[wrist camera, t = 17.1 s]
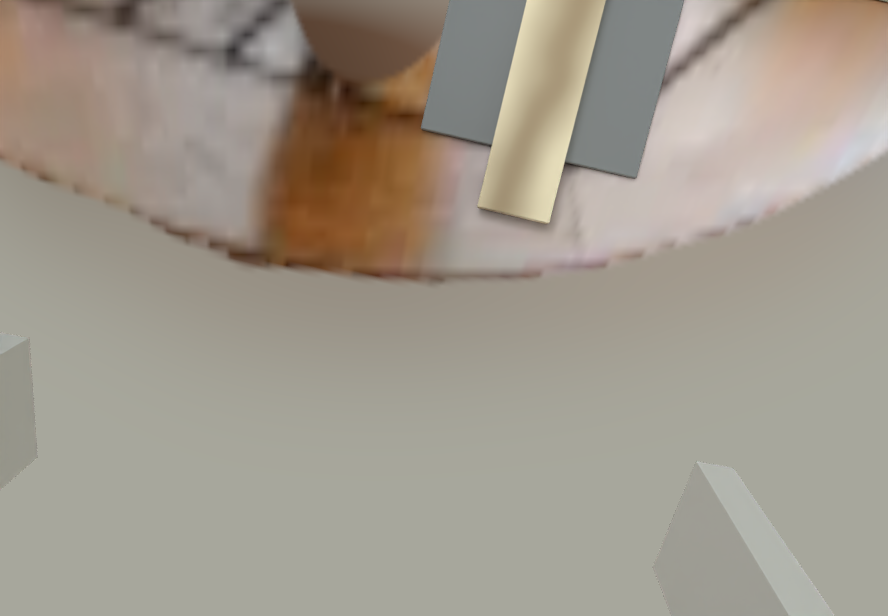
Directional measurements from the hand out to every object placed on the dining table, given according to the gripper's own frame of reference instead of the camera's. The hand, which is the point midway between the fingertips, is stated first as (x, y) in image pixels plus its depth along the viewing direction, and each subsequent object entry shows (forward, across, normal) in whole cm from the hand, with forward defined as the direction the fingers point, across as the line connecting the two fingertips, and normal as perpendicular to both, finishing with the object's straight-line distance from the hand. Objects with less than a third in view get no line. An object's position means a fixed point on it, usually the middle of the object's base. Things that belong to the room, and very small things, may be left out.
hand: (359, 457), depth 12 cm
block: (+31, +6, +10) cm, 33 cm away
